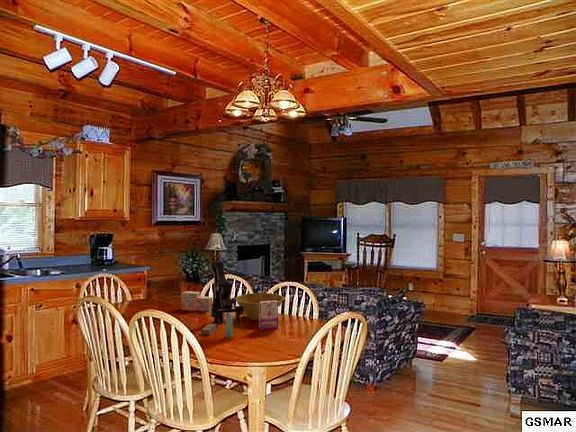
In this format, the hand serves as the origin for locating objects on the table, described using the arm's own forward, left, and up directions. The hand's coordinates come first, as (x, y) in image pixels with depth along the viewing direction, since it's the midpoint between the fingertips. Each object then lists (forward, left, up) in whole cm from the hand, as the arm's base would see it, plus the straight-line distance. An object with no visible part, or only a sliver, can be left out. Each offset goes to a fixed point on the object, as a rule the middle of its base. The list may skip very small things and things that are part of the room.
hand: (229, 324), depth 258 cm
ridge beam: (-8, -14, -7) cm, 18 cm away
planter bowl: (-45, +9, -8) cm, 46 cm away
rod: (-1, 0, -7) cm, 7 cm away
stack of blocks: (-61, -40, -8) cm, 73 cm away
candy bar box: (-21, +19, -8) cm, 29 cm away
